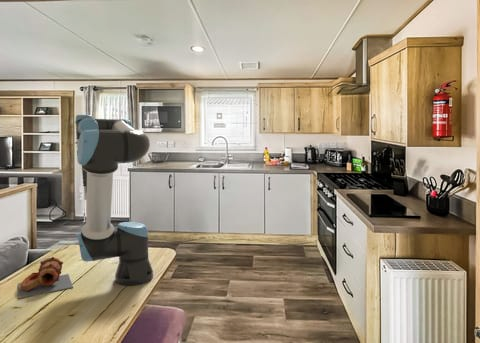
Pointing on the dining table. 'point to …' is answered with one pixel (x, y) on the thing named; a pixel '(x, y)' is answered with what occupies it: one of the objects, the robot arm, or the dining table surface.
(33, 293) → the mat
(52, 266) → the orange hollow piece
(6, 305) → the dining table surface
